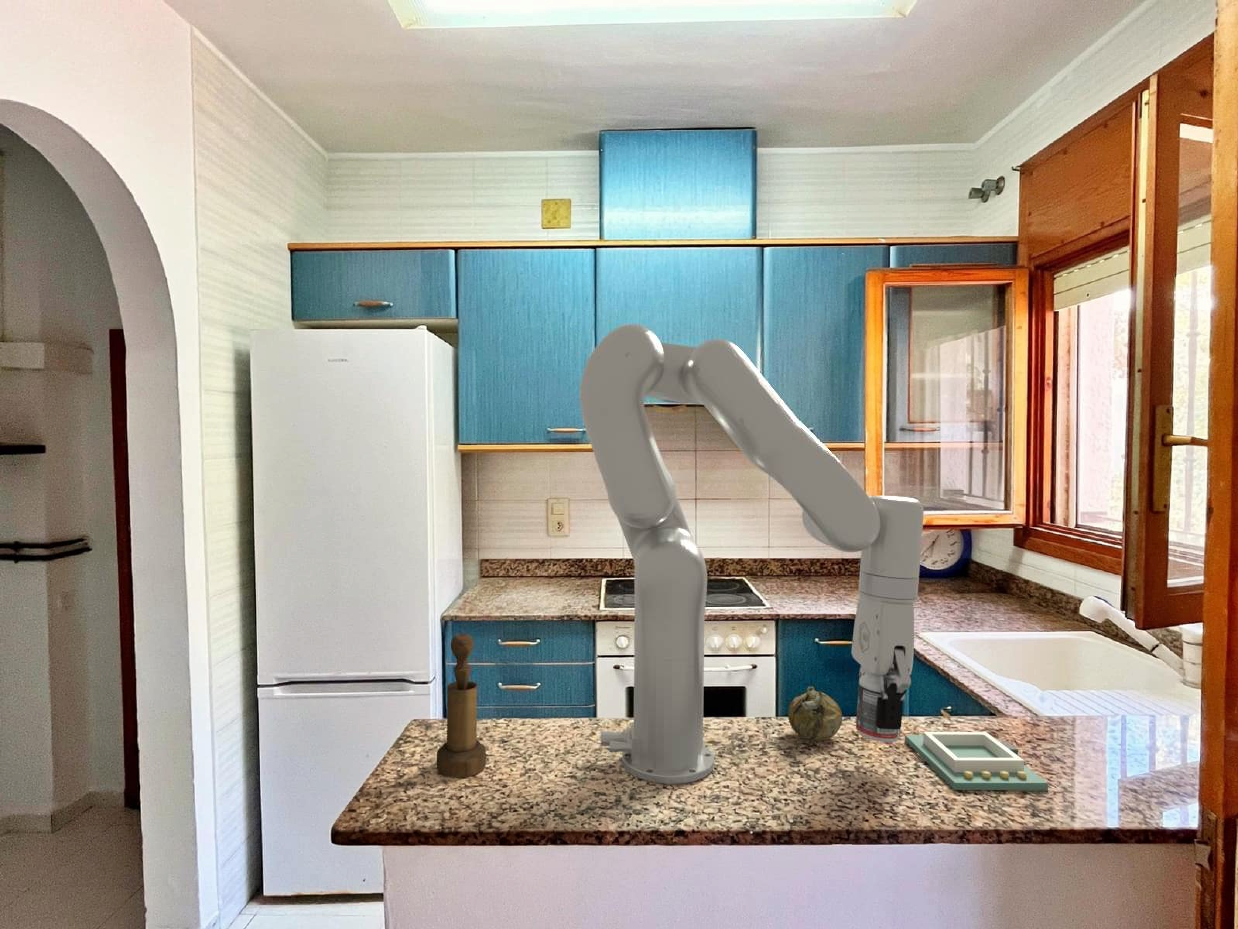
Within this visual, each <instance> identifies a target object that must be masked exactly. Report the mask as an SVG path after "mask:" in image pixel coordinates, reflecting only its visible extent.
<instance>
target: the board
mask: <svg viewBox="0 0 1238 929" xmlns="http://www.w3.org/2000/svg"><path fill="white" fill-rule="evenodd" d="M904 743H906V744H907V743H908V744H909V745H910V746H911V747H912V748H913V749H914V750H915V751H916V752H917V753H918V754H919V755H920V756H921V757H922V758H923V759H924V760H925V761H926V762H927V763H928V764H929V765H930V766H929V765H928V764H927V765H928V766H929V767H930V768H931V767H932V768H933V769H932V768H931V769H932V770H933V771H934V770H935V771H936V772H935V773H936V774H938V776H940V778H942V780H944V782H945V783H947V784H948V785H949V787H951V788H952V790H954V791H955V790H1016V791H1017V790H1018V791H1019V790H1020V791H1021V792H1022V791H1024V792H1027V791H1029V792H1031V791H1032V792H1033V791H1034V792H1035V791H1039V792H1041V791H1042V792H1043V791H1044V792H1045V791H1047V792H1048V791H1049V782H1048V781H1046V780H1045V779H1044V778H1042V777H1041V776H1040V775H1038V774H1037V773H1035V772H1034V771H1033V770H1032V769H1031V768H1029V767H1028V766H1027V765H1025V760H1024V759H1023V758H1022V757H1021V756H1019V749H1018V748H1017V747H1016V746H1014V745H1013V744H1011V743H1010V742H1008V741H999V740H997V739H996V738H995V737H993V735H991V734H989V733H988V732H984V731H981V732H979V731H977V732H975V731H974V732H973V731H967V732H966V731H965V732H964V731H963V732H962V731H959V732H956V731H954V732H953V731H924V732H923V734H905V735H904ZM908 744H907V745H908ZM909 745H908V746H909ZM910 746H909V747H910ZM911 747H910V748H911ZM912 748H911V749H912ZM913 749H912V750H913ZM914 750H913V751H914ZM915 751H914V752H915ZM916 752H915V753H916ZM917 753H916V754H917ZM918 754H917V755H918ZM919 755H918V756H919ZM920 756H919V757H920ZM921 757H920V758H921ZM922 758H921V759H922ZM923 759H922V760H923ZM924 760H923V761H924ZM925 761H924V762H925ZM926 762H925V763H926ZM1025 790H1026V791H1025ZM1016 791H1015V792H1016Z"/></svg>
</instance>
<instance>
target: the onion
mask: <svg viewBox="0 0 1238 929" xmlns="http://www.w3.org/2000/svg"><path fill="white" fill-rule="evenodd" d="M788 706H789V707H788V716H787V719H788V722H789V725H790V726H791V729H792V730H793V732H794V733H795V735H798V737H800V738H803V739H804V740H805V741H812V742H823V741H824V742H825V741H827V740H829V739H832V738H833V737H834V736H835V735H836V734H837V733H838V732H839V731H840V729H841V726H842V724H843V714H842V710H841V707H840V706H839V704H838V703H837V702H836V701H835V700H834V699H833V698H831V696H829V695H827V694H825V693H824V692H822V691H821V690H819V691H816V690H815V688H814V687H813V686H808V687H807V689H806V692H805V693H804V694H800V695H799V696H796V697H794V699H793V700H792V701H791V702H790V704H789V705H788Z"/></svg>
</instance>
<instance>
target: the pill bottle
mask: <svg viewBox="0 0 1238 929" xmlns="http://www.w3.org/2000/svg"><path fill="white" fill-rule="evenodd" d="M863 668H864V667H863ZM864 670H865V674H864V675H862V676H861V678H859V680H858V688H857V689H858V690H857V692H858V693H857V706H856V718H855V719H856V720H855V729H856V732H857V733H858V734H859V735H860V736H862V737H864V738H866V739H868V740H871V741H875V742H878V743H893V742H897V741H898V740H899V739H900V738H901V737H900V736H901V731H902V730H901V729H902V728H901V729H899V730H896V729H879V728H878V727H877V726H876V712H877V698H878V697H881V693H880V677H879V676H874V675H872V674H871V673H870V672H869V671H868V670H866V669H865V668H864ZM886 674H891V675H896V673H895V671H894V670H888V672H887V673H886ZM891 683H895V680H887V686H888V687H889V685H890V684H891Z"/></svg>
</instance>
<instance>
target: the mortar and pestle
mask: <svg viewBox="0 0 1238 929" xmlns="http://www.w3.org/2000/svg"><path fill="white" fill-rule="evenodd" d="M450 648H451V649H450V650H451V651H452V653H453V655H454V658H455V659H456V665H455V667H453V674H454V677H455V680H456V681H453V682H450V683H449V684H447V686H446V687H447V688H446V690H447V692H446V694H447V698H446V699H447V700H446V701H447V703H446V704H447V707H446V708H447V711H446V712H447V714H446V717H447V718H446V722H447V723H446V742H445V743H443V744H442V745H441V746H440V747H439V748H438V750H437V752H436V770H437V771H436V772H438V773H439V774H441V775H442V776H445V777H450V778H467V777H471V776H474V775H477V774H480V773H481V772H483V771H484V770H485V768H486V766H487V759H486V758H487V750H486V749H487V748H486V746H485V745H484V744H483V743H481V742H480V741H479V740H478V738H477V731H478V730H477V728H478V727H477V722H478V720H477V716H478V713H477V712H478V683H477V682H475V681H471V680H469V679H470V675H471V672H472V671H471V670H472V666H470V665H469V662H468V661H469V660H468V659H469V657H470V655H471V653H472V651H473V650H474V649H473V648H474V639H473V638H472V636H471V635H470V634H468V633H457V634H455V635H454V636H453V637H452V639H451V641H450Z"/></svg>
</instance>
